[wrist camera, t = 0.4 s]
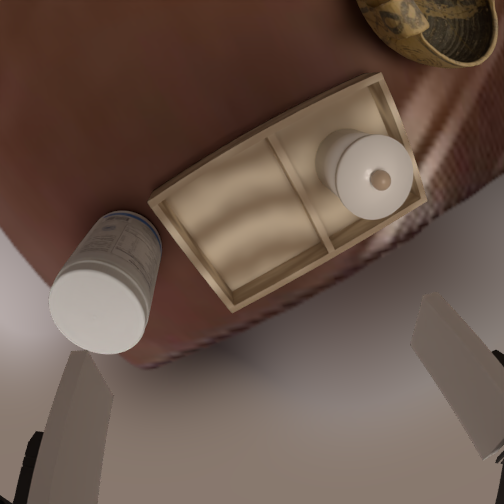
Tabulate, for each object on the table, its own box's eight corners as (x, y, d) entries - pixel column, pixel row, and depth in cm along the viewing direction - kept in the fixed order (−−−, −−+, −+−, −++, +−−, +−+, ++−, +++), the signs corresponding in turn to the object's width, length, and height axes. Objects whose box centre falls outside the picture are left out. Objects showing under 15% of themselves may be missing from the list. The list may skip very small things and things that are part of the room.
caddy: (152, 191, 35) (146, 202, 32) (364, 73, 32) (381, 72, 28) (229, 294, 43) (232, 313, 40) (410, 191, 40) (427, 200, 36)
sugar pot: (300, 146, 35) (329, 164, 26) (362, 114, 33) (406, 123, 25) (330, 208, 38) (363, 241, 30) (387, 176, 37) (430, 200, 29)
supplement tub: (128, 289, 41) (104, 370, 28) (77, 241, 37) (29, 310, 24) (179, 246, 39) (169, 323, 26) (125, 190, 35) (83, 247, 22)
